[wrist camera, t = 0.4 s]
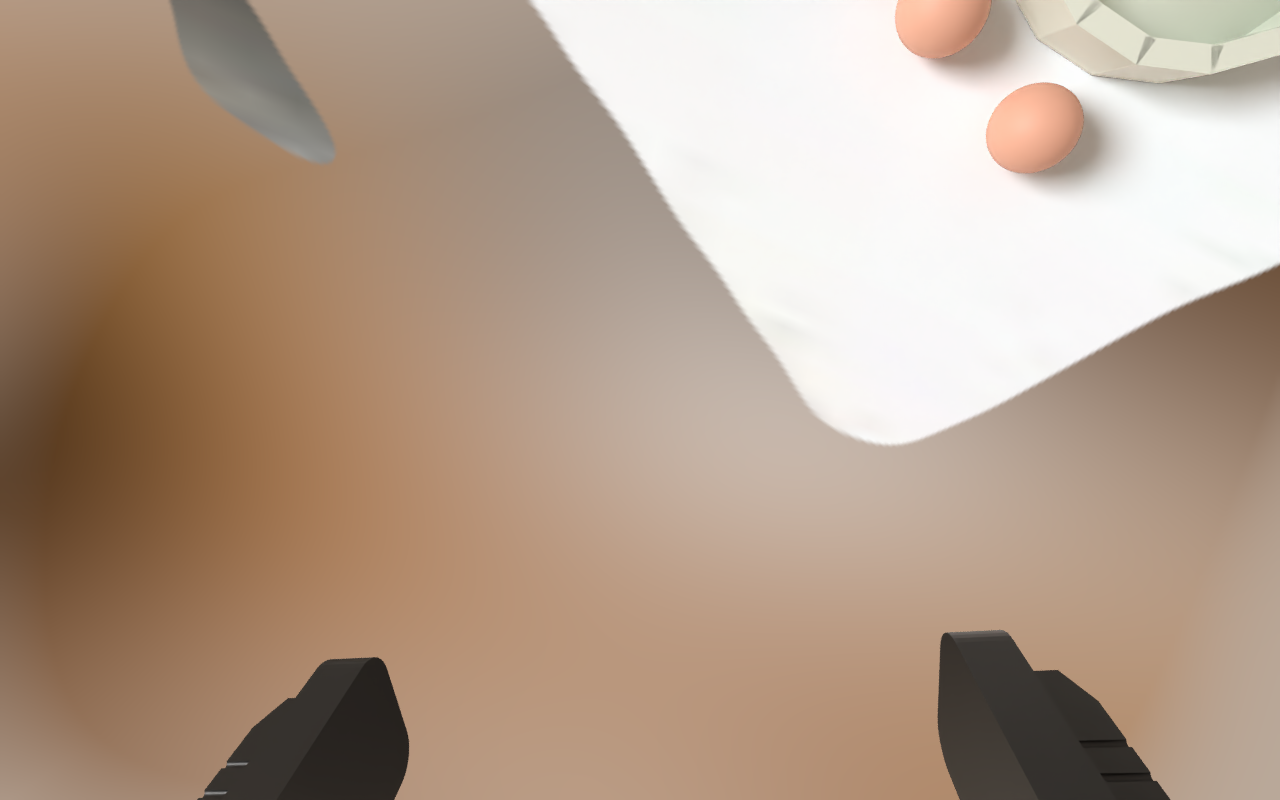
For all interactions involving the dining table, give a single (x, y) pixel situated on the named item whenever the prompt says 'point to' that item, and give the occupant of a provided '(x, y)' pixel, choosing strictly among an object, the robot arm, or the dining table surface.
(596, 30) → the dining table surface
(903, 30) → the bead
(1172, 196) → the dining table surface
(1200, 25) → the ring tray
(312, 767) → the robot arm
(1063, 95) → the peach orange ball
